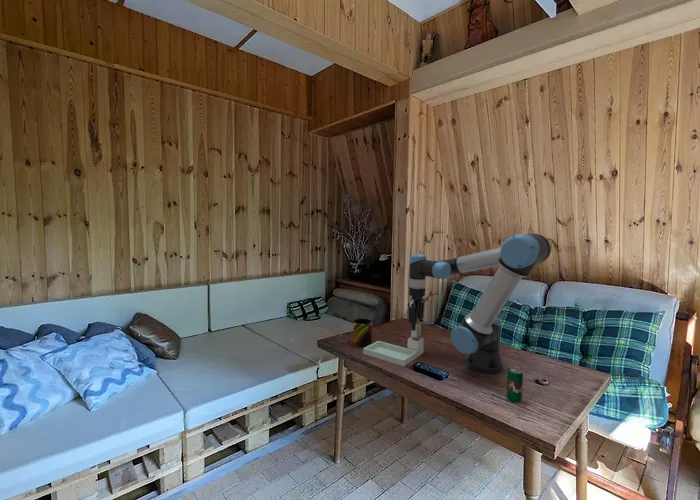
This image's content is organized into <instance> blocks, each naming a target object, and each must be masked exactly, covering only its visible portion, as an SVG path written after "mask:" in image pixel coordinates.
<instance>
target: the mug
mask: <svg viewBox="0 0 700 500" xmlns="http://www.w3.org/2000/svg"><path fill="white" fill-rule="evenodd" d="M352 328H353V334H352V335H353V336H352V337H353V339H352V343H353V346H355V347H357V348H365V347H367V346H369V345H371V344H373V338H372V337H373V321H372V320H371V319H369V318H357V319H354V320H353V327H352Z"/></svg>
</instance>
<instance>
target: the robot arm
mask: <svg viewBox="0 0 700 500" xmlns="http://www.w3.org/2000/svg"><path fill="white" fill-rule="evenodd" d="M551 253H552V245H551V243H550V240H549V239H548V238H547V237H546V236H543V235H542V234H538V233H527V234H526V233H518V234H515V235H512V236H510V237H508V238H507V239H506V240H505V241H504V242H503V243H502V245H501V246H499V247H496V248H492V249H488V250H484V251H479V252H475V253H471V254H467V255H463V256H458V257H453V258H450V259H442V260H431V259H430V260H429V259H427V256H426V255H424V254H412V255H410V256H409V279H408V281H409V283H408V285H409V287H408V295H409V296H410V297H411V299H410V302H408V303H407V306H408V323H409V324H411V326H410V331H411V332H410V333H411V334H410V337H417V324H416V322H417V318H419V319H420V320H419V336H421V335H422V333H421V332H422V329H421V327H422V323H423V322H424V315H425V303H426V299H425V298H423V297H425V296H426V285H427V284H426V277H428V278H433V279H438V280H447V279H448V278H449V276H455V275H459V274H464V273H470V272H474V271H479V270H485V269H491V268H496V267H498V268H497V270H496V271H495V273H494V275H493V277H492V279H491V280H490V282H489V284H488V285H487V287H486V288H485V290H484V291H483V293H482V295H481V297H480V298H479V300H478V302H477V303H476V306H475V307H474V309H473V310H472V312H471V313H468V314H466V315H465V316H464V317H463V319H462V321H461V323H460V324H459V325H456V326H455V327H454V328H453V329H452V331H451V332H450V339H451V341H452V342H451V343H452V345H453V347H454V348H455V349H456V351H458V352H459V353H462V354H464V355H468V356H467V358H466V366H467V367H468V368H469V369H471V370H473V371H475V372H478V373H482V374H489V375H490V374H491V375H495V374H499V373H502V372H503V370H504V361H503V359H502V356H501V353H500V352H501V351H500V348H501V347H500V346H501V334H502V332H501V331H502V321H501V319H500V318H499V317H498V316H499V314H500V313H501V311H502V309H503V308H504V307H505V305H506V303H507V302H508V300H509V299H510V297H511V296H512V293H514V291H515V289H516V288H517V286H518V284H519V283H520V282H521V280H522V279H523V278H528V277H529V276H530V274H531V273H532V271H534V269H535V267H536V266H537V265H540V264H542V263H544V262H545V261H547V259H549V257H550V255H551Z"/></svg>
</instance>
